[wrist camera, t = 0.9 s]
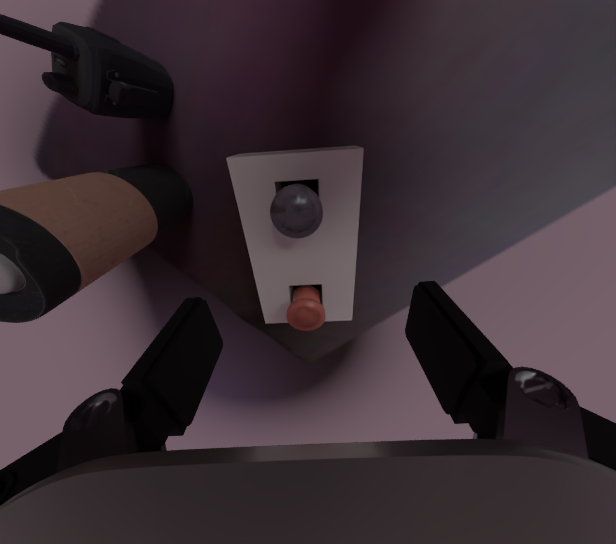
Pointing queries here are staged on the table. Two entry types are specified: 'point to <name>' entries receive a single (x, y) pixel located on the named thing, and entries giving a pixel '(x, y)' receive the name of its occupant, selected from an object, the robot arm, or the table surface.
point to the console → (309, 250)
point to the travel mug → (80, 232)
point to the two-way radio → (98, 70)
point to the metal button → (296, 211)
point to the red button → (306, 309)
